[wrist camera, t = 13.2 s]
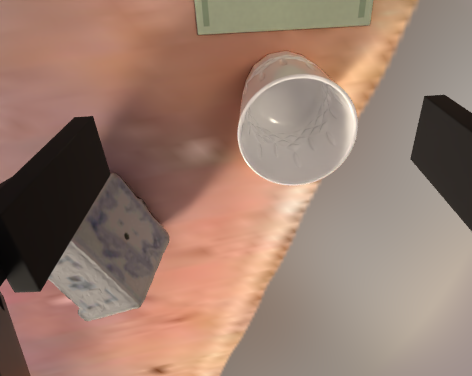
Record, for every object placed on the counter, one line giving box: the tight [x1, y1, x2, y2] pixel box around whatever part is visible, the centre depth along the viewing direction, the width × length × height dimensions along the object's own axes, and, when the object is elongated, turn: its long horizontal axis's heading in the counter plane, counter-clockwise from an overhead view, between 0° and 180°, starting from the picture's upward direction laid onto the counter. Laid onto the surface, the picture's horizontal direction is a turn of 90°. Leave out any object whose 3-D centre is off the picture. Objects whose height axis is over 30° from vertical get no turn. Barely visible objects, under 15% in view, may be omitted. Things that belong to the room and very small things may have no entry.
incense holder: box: [48, 173, 169, 321], centre depth 35 cm, size 10×8×10 cm
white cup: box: [238, 51, 358, 185], centre depth 28 cm, size 8×8×10 cm
